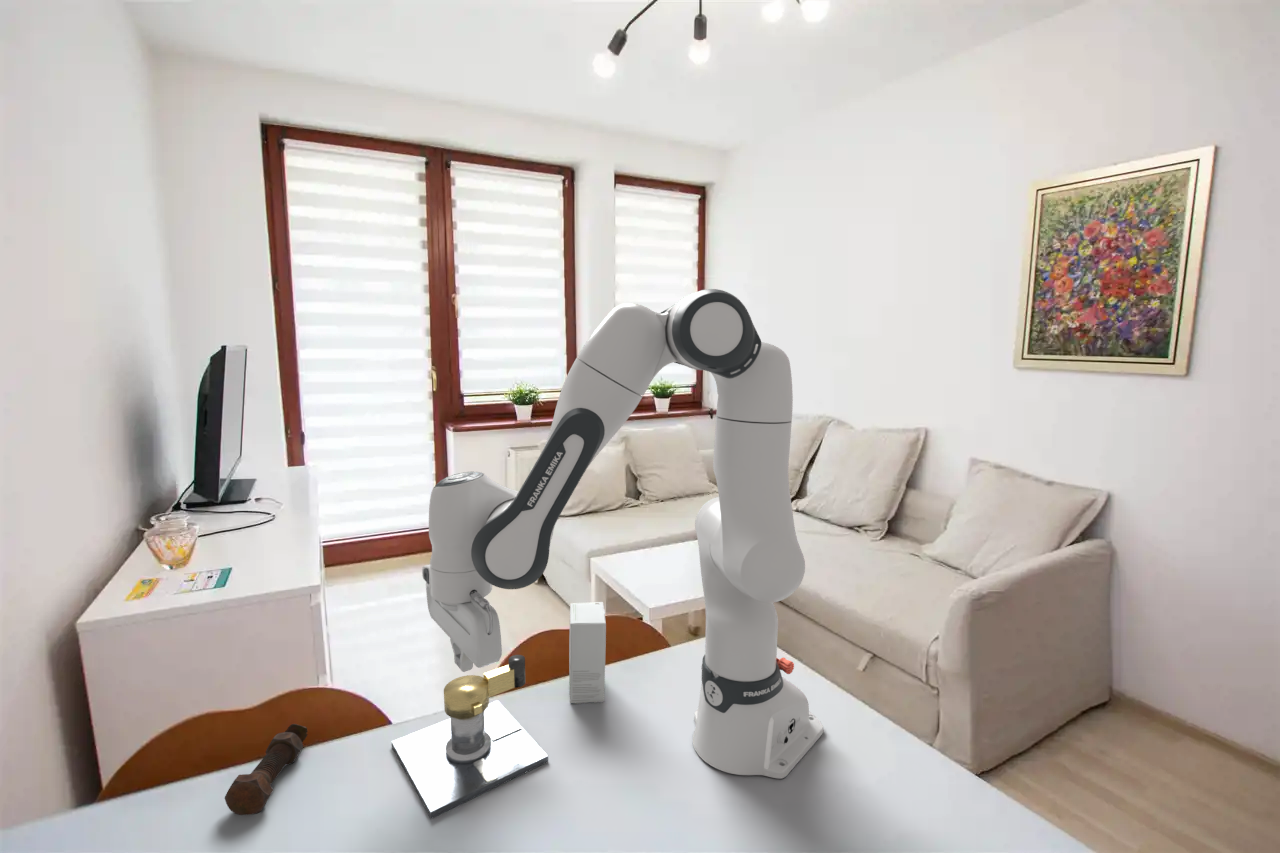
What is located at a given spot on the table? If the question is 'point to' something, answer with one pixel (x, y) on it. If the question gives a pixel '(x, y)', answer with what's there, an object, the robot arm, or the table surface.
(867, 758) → the table surface
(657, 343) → the robot arm
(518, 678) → the brass faucet handle
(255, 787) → the bolt
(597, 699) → the skincare box
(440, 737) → the slotted metal plate
